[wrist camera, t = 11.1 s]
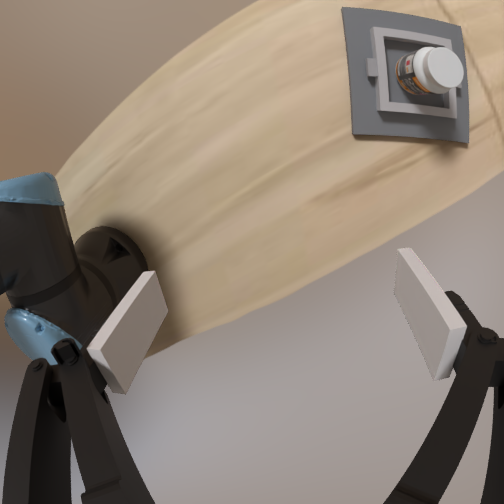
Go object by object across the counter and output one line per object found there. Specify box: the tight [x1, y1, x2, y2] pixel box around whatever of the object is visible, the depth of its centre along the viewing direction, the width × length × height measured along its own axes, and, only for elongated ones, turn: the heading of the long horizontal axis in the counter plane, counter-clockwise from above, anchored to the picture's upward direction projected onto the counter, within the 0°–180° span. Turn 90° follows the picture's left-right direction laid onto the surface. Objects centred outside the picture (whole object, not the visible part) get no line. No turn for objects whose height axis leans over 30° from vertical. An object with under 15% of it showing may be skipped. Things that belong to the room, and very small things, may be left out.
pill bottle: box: [395, 47, 464, 95], centre depth 27 cm, size 6×6×10 cm
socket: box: [341, 7, 469, 143], centre depth 31 cm, size 18×18×3 cm
